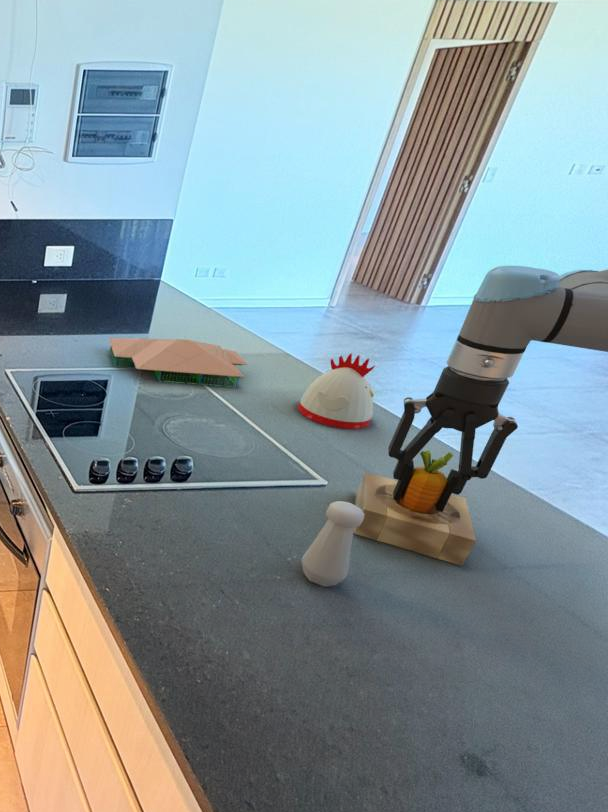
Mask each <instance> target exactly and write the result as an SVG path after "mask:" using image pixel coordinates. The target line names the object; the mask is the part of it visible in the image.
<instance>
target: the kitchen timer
mask: <svg viewBox="0 0 608 812" xmlns="http://www.w3.org/2000/svg"><path fill="white" fill-rule="evenodd" d="M352 353H353V352H352ZM352 353H349V354H348V356H347V358H346V360H344V357H343V355H340V356H339V357H338V365H337V364H336V363H335V360H334V359H333V358H331V359H330V368H331V369H329V370H327V371H326V372H323V374H321V375H319V376H318V377H317V378H316V379H315V380H314V381H312V382H311V384H310V385H309V387H308V388H307V389H306V391H304V393H303V395H302V396H301V397H300V398H301V399H300V401H299V404H298V407H297V409H298V411H299V413H300V414H301V415H302V416H304V417H305V418H308V419H309V420H311V421H313V422H316V423H320V424H322V425H325V426H329V427H334V428H338V429H348V430H356V429H357V430H358V429H363V428H367V427H368V426H369V425H370V424H371V420H372V417H373V413H374V396H375V394H374V392H373V389H372V386H371V383H370V382H369V380H368V378H367V377H366V376H367V374H369V373H370V372H371V371H372V370H374V369H375V367H376V365H373V366H371V367H368V365H369V362H370V358H367V359H366V360H364V361H363V363H362V364H361V365H360V355H359V354H358V355H357V356H356V357H355V359H354V361H353V362H352V359H353V354H352Z"/></svg>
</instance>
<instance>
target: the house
mask: <svg viewBox="0 0 608 812" xmlns="http://www.w3.org/2000/svg"><path fill="white" fill-rule="evenodd" d="M108 342H109V344H110V348H109V351H110V354H111V358H112V360H113V364H114V366H115V368H116V367H117V368H118V367H120V365H121V363H119V364H118V362H119V361H125V363H132V365H128V366H127V364H124V363H122V365H121V367H127V368H132V369H134V368H135V369H136V370H144V371H153V372H154V374H155V376H156V378H157V381H158V382H161V376H162V379H164V377H165V376H166V378H165V380H164V382H165V383H166V382H167V383H174V380H172V381H170V380H171V378H169V379H168V381H167V378H168V376H169V377H173V378H172V379H174V377H175V376H172V374H170V375H169V374H168V373H174V374H173V375H175V373H176V374H177V375H176V376H178V377H179V378H181V377H182V381H181V379H179V381H177V379H178V377H176V378H175V379H176V380H175V381H177V383H178V384H179V383H181V384H184V382H183V381H184V378H185V374H187V375H186V377H189V380H188V378H186V379H185V381H187V380H188V383H190V385H191V384H192V385H194V384H195V385H196V382H197V383H198V385H203V386H204V385H205V386H212V383H210V384H208V383H209V381H207V382H206V383H205V381H206V379H207V380H210V382H212V380H213V379H210V376H211V378H214V376H218V378H217V377H215V378H214V381H213V384H215V383H216V380H217V383H216V384H215V386H219V387H222V382H223V380H224V384H223V385H226V384H225V383H226V381H228V382H227V383H230V381H231V383H230V385H228V384H227V385H226V387H229V388H230V387H231V388H237V386H238V382H239V379H240V378H245V375H243V373H242V372H241V371H240V369H238V367H237V366H248V363H246V361H245V360H244V359H243V357H242V356H241V355H240V354H239V353H238V352H237V351H236V350H229V349H225V348H222V346H220V345H218V344H213V343H207V342H202V341H196V340H191V339H181V338H180V339H179V338H175V339H173V338H169V339H168V338H167V339H166V338H165V339H164V338H163V339H159V338H145V337H144V338H143V337H110V338H108ZM117 365H118V366H117ZM123 365H124V366H123ZM129 366H130V367H129ZM162 372H163V374H165V372H167V374H165V375H162ZM179 373H180V375H179ZM182 374H183V376H182ZM189 374H190V376H188V375H189ZM192 375H193V376H192ZM204 375H205V376H204ZM207 375H208V377H207ZM203 376H204V380H203V383H202V379H203ZM220 377H221V378H220ZM224 377H225V379H223V378H224ZM227 377H228V380H227ZM191 378H192V380H194V379H195V380H196V381H195V383H194V381H192V382H190V380H191ZM219 380H221V383H220V385H219ZM180 381H181V382H180ZM232 384H233V386H232Z"/></svg>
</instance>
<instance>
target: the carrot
mask: <svg viewBox="0 0 608 812" xmlns="http://www.w3.org/2000/svg"><path fill="white" fill-rule="evenodd" d="M419 453H420V456H421V459H422V463H423V466H422V465H421V466H417V467H414V469H413V471H412V473H411V475H410V477H409V480H408V482H407V484H406V486H405V489H404V491H403V493H402V495H401V498H400V503H399V505H401V506H402V507H404V508H406V509H408V510H411V511H413V512H417V513H421V514H428V513H429V512H430V511H431V510H432V509H433V508H434V506H435V505H436V504H437V502H438V501H439V499H440V497H441V496H442V494H443V492H444V490H445V488H446V486H447V484H448V480H447V476H446V475H445V474H444V472H442V471H441V469H442V468H443V467H445V466H447V465H448V462H449V461H450V460H451V459H452V458H453V457H454V454H453V453H452V452H451V451H448V452H447V453H446V454H445V455H444V456H443V457H442V456H441V457H438V459H435V458H432V453H431V451H430V450H426V451H424V450H421V451H420V452H419Z"/></svg>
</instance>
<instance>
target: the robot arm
mask: <svg viewBox="0 0 608 812" xmlns="http://www.w3.org/2000/svg"><path fill="white" fill-rule="evenodd" d="M531 341H534V342H540V343H548V344H555V345H560V346H567V347H572V348H573V347H574V348H580V349H585V350H591V351H592V350H593V351H598V352H606V353H608V269H603V270H593V269H575V270H571V271H567V272H564V273H562V274H558V273H557V272H555V271H553V270H549V269H544V268H539V267H538V268H537V267H532V266H525V265H499V266H495V267H493V268H491V269H490V270H489V271H488V272H487V273H486V274H485V276H484V278H483V280H482V282H481V284H480V286H479V288H478V289H477V291H476V293H475V294H474V295H473V300H472V302H471V304H470V307H469V309H468V311H467V314H466V316H465V318H464V320H463V323H462V326H461V328H460V331H459V333H458V335H457V338H456V340H455V342H454V344H453V347H452V349H451V351H450V353H449V355H448V357H447V360H446V361H445V362H446V365H447V366H446V367H444V368H443V369H442V371H441V374H440V375H439V378H438V380H437V383H436V384H435V387H434V390H433V391H432V392H431V393H430V394H428V395H427V396H426V397H425V398H417V399H413V398H412V397H408V396H407V397H405V398H404V399H403V412H402V415H401V417H400V420H399V422H398V424H397V427H396V429H395V431H394V433H393V436H392V438H391V441H390V442H389V445H388V448H387V449H388V451H387V453H388V456H389V457H390V458H392V459H396V460H397V462H396V464H395V467H394V469H393V471H392V475H393V480H397V481H398V482H397V484H396V486H395V489H394V491H393V498H394V499H395V500H398V501H399V500H400V498H401V495H402V493H403V491H404V489H405V486H406V484H407V482H408V480H409V477H410V475H411V473H412V471H413V469H414V468H415V464H414V458H416V457H417V455H419V453H421V452H422V451H423V448H425V447H426V445H427V444H428V443H429V442H430V441H431V439H433V438H434V436H435V435H436V434H438V433H439V432H441V430H442V429H453V430H456V431H457V432H461V437H460V446H459V447H460V449H459V457H458V461H459V462H458V469H457V470H456V469H451V468H450V471H449V473H448V475H447V476H446V478H447V480H448V484H447V486H446V488H445V490H444V492H443V494H442V496H441V497H440V499H439V501H438V502H437V504H436V511H440V512H443V510H444V508H445V506H446V504H447V502H448V500H449V498H450V496H451V495H456V496H459V495H460V494H462V492H463V490H464V488H465V486H466V484H467V482H468V481H470V480H471V479H472V478H478V479H487V478H488V476H489V474H490V472H491V470H492V468H493V466H494V464H495V462H496V460H497V458H498V456H499V454H500V452H501V450H502V447H503V446H504V444H505V442H506V440H507V438H508V437H509V436H510V435H511V434H513V433H514V432H515V431H516V430H517V429H518V428H519V427H518V423H517V421H516V418H515V417H512V416H505V415H503V414H501V413H500V412H499V404H500V403H501V401H502V399H503V396H504V394H505V393H506V390H507V388H508V386H509V385H510V381H509V379H510V378H512V377H513V376H514V374H515V373H516V370H517V368H518V366H519V363H520V361H521V359H522V357H523V355H524V353H525V352H526V349H527V347H528V346H529V344H530V343H531ZM423 408H427V411H428V413H429V415H430V418H429V419H428V420H427V422H426V423H425V424H424V426H423V427H422V428H421V429H420V430H419V431H418V433H417V434H416V435H415V436H414V437H413V438H412V440H411V441H410V442H409V443H408V444H407V445H406V446H405V447H404V449H402V447H403V445H404V442H405V440H406V438H407V436H408V433H409V432H410V429H411V427H412V425H413V422H414V420H415V416H416V415H415V414H420V413H421V411H422V409H423ZM492 421H494V422H493V424H492V427H493V430H492V431H491V433H490V435H489V438H488V439H487V442H486V443H485V446H484V448H483V450H482V452H481V454H480V457H479V458H478V460H477V463H476V465H475V466H473V453H474V446H475V445H474V444H475V438H476V430H477V429H478V428H480V427H482V426H484V425H486V424H489V423H490V422H492Z"/></svg>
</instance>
